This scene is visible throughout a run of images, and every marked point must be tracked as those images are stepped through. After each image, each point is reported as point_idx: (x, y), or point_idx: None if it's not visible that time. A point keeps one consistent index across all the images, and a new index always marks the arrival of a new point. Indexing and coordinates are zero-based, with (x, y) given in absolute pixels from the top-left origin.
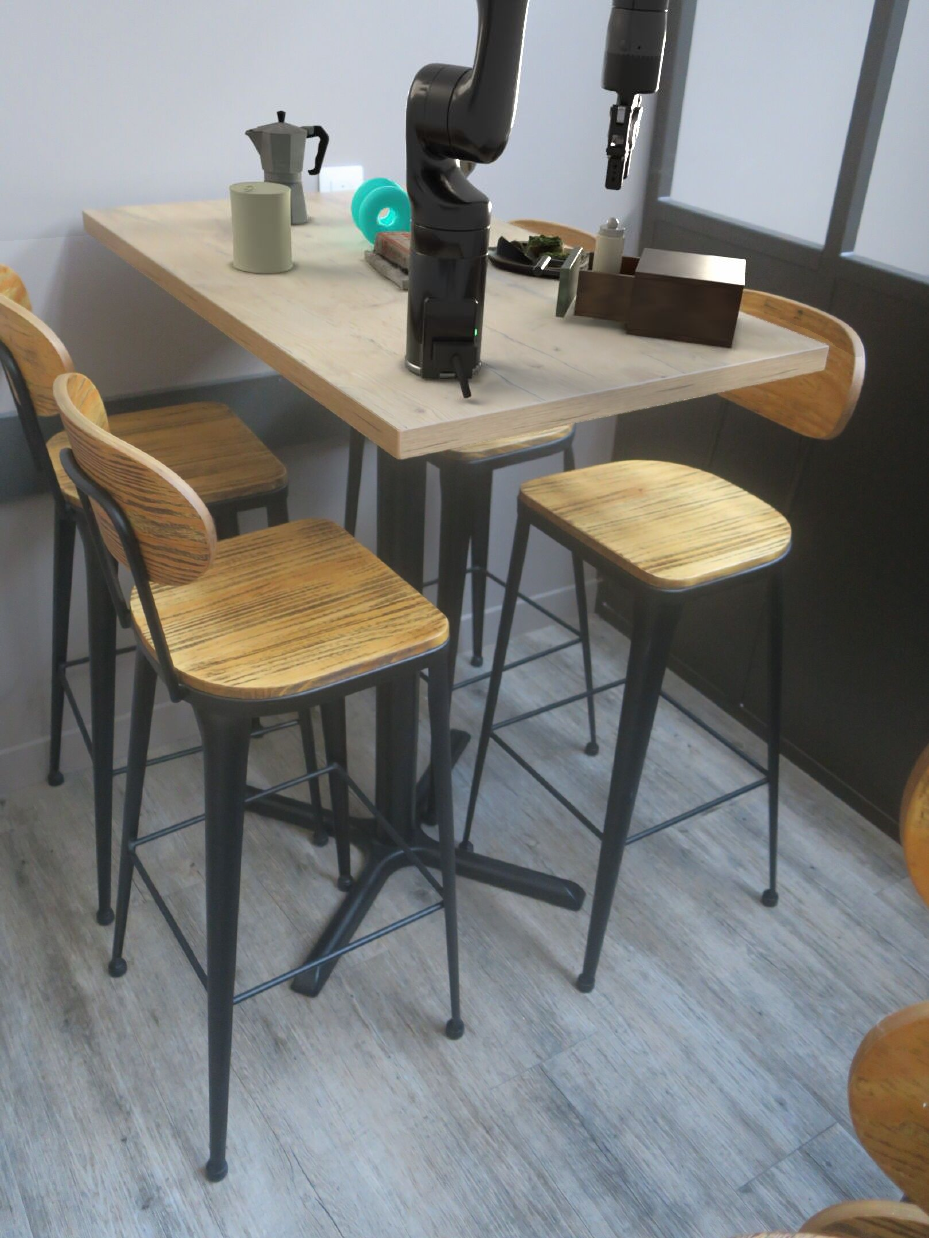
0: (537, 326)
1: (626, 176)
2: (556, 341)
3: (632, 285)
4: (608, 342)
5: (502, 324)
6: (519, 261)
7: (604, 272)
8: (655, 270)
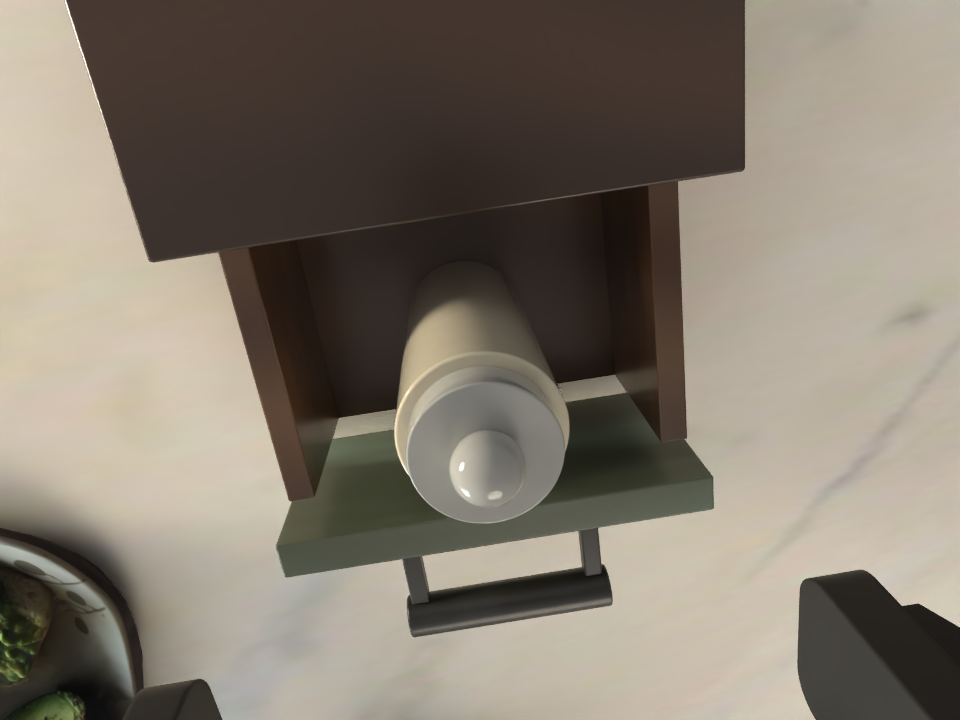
0: (698, 440)
1: (186, 699)
2: (828, 342)
3: None
4: (766, 184)
5: (728, 529)
6: (112, 714)
7: (661, 333)
8: (664, 66)
